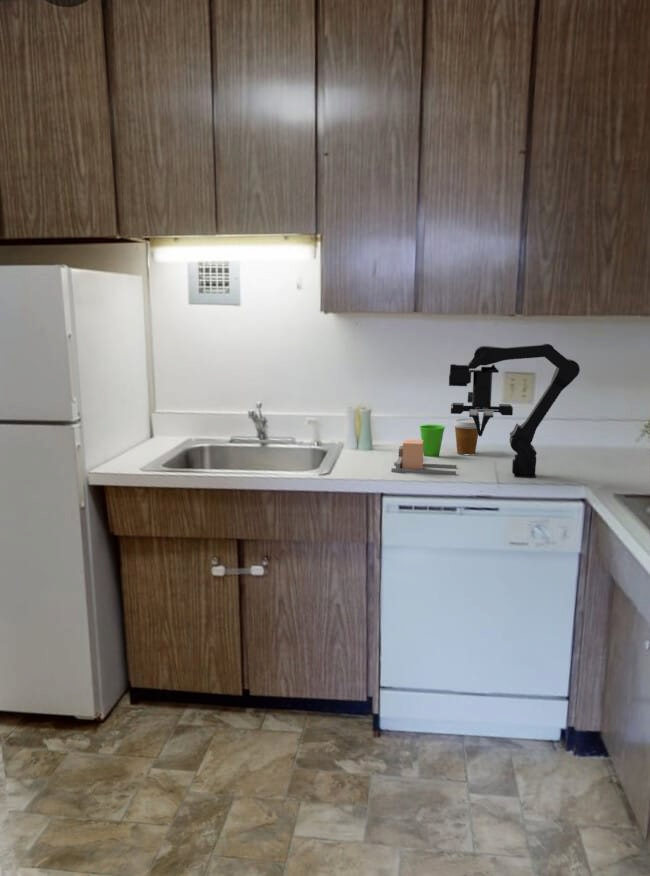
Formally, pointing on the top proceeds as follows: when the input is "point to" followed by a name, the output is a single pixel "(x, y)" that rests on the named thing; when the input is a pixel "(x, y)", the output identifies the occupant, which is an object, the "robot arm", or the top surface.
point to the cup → (431, 439)
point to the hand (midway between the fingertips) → (480, 436)
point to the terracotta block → (413, 454)
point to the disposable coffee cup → (466, 436)
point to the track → (400, 464)
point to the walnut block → (401, 451)
